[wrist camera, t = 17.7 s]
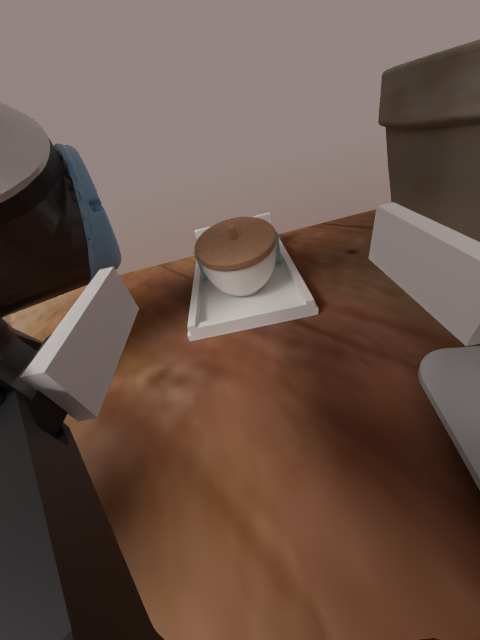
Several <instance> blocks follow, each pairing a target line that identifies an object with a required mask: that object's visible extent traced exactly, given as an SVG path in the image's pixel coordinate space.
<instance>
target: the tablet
mask: <svg viewBox="0 0 480 640" xmlns="http://www.w3.org/2000/svg"><path fill="white" fill-rule="evenodd" d="M418 378H419V381H420V383H421V386H422V387H423V389H424V391H425V393H426V395H427V396H428V398H429V400H430V402H431V404H432V405H433V407H434V409H435V411H436V413H437V414H438V416H439V418H440V420H441V422H442V423H443V425H444V427H445V429H446V431H447V432H448V434H449V436H450V438H451V440H452V441H453V443H454V445H455V447H456V449H457V450H458V452H459V454H460V456H461V458H462V459H463V461H464V463H465V465H466V467H467V468H468V470H469V472H470V474H471V476H472V477H473V479H474V481H475V483H476V485H477V486H478V488H479V490H480V346H474V347H459V348H445V349H439V350H435V351H433V352H430V353H429V354H427V355H426V356H425V357H424V358H423V360H422V361H421V363H420V366H419V369H418Z"/></svg>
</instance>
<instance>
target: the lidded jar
mask: <svg viewBox="0 0 480 640" xmlns="http://www.w3.org/2000/svg"><path fill="white" fill-rule="evenodd" d="M195 254H196V256H197V258H198V260H199V262H200V264H201V266H202V269H203V271H204V273H205V274H206V276H207V278H208V279H209V280H210V282H211V283H212V284H213V285H214V286H215V287H216V288H217V289H219V290H221V291H222V292H224V293H227V294H231V295H233V296H237V297H245V296H249V295H252V294H254V293H256V292H257V291H259V290H260V289H261V288H262V287H263V286H264V285H265V284H266V283H267V281H268V280H269V279H270V277H271V275H272V273H273V270H274V267H275V262H276V232H275V229H274V228H273V226H272V225H271V224H270V223H269V222H267V221H265V220H263V219H260V218H255V217H238V218H232V219H229V220H225V221H222V222H219V223H217V224H216V225H213V226H211V227H210V228H208V229H207V230H206V231H204V232H203V233H202V234H201V235H200V237H199V238H198V240H197V242H196V245H195Z"/></svg>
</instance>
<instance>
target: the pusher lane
mask: <svg viewBox="0 0 480 640" xmlns="http://www.w3.org/2000/svg"><path fill="white" fill-rule="evenodd" d="M252 217H255V218H260V219H263V220H265V221H267V222H269V223H270V224H271V225H272V222H271V214H270V212H268V213H264V214H260V215H256V216H252ZM210 227H211V226H210ZM210 227H206V228H202V229H198V230H195V231H194V233H195V236H196V239H197V240H198V238H199V237H200V235H201V234H202V233H203V232H204V231H206V230H207V229H208V228H210ZM279 245H280V254H281V263H278V264H275V267H274V270H273V273H272V275H271V277H270V279H269V280H268V281H267V283H266V284H265V285H264V286H263V287H262V288H261V289H260V290H259V291H257V292H256V293H254V294H252V295H249V296H245V297H237V296H233V295H231V294H227V293H224V292H222V291H221V290H219V289H217V288H216V287H215V286H214V285H213V284H212V283H211V282H210V280H209V279H208V280H203V277H202V274H201V271H200V268H199V265H198V263H197V260H196V265H195V273H194V280H193V288H192V295H191V302H190V310H189V317H188V325H187V328H188V335H187V336H188V338H189V341H195V340H200V339H205V338H209V337H214V336H219V335H224V334H228V333H233V332H238V331H243V330H247V329H252V328H257V327H262V326H266V325H271V324H276V323H281V322H286V321H290V320H295V319H300V318H305V317H309V316H314V315H318V307H317V305H316V303H315V302H314V298H313V297H312V295H311V293H310V291H309V290H308V288H307V286H306V284H305V282H304V281H303V279H302V277H301V275H300V274H299V272H298V270H297V268H296V267H295V265H294V263H293V261H292V260H291V258H290V256H289V254H288V253H287V251H286V249H285V247H284V245H283V244H282V242H281V240H280V238H279Z"/></svg>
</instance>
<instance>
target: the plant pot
mask: <svg viewBox="0 0 480 640" xmlns="http://www.w3.org/2000/svg"><path fill="white" fill-rule="evenodd" d="M379 124H380V125H381V126H385V127H386V139H387V155H388V169H389V179H390V189H391V201H392V202H394V203H396V204H399V205H401V206H403V207H405V208H407V209H409V210H412V211H414V212H416V213H418V214H420V215H422V216H425V217H427V218H429V219H431V220H433V221H435V222H437V223H440V224H442V225H444V226H446V227H448V228H450V229H453V230H455V231H457V232H459V233H461V234H463V235H465V236H468V237H470V238H472V239H474V240H478V241H480V40H477V41H474V42H470V43H467V44H464V45H461V46H457V47H454V48H451V49H448V50H444V51H441V52H438V53H435V54H432V55H429V56H426V57H423V58H419V59H416V60H414V61H410V62H407V63H404V64H401V65H398V66H395V67H393V68H391V69H388V70H386V71H385V72H384V73H383V75H382V83H381V97H380V109H379Z"/></svg>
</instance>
